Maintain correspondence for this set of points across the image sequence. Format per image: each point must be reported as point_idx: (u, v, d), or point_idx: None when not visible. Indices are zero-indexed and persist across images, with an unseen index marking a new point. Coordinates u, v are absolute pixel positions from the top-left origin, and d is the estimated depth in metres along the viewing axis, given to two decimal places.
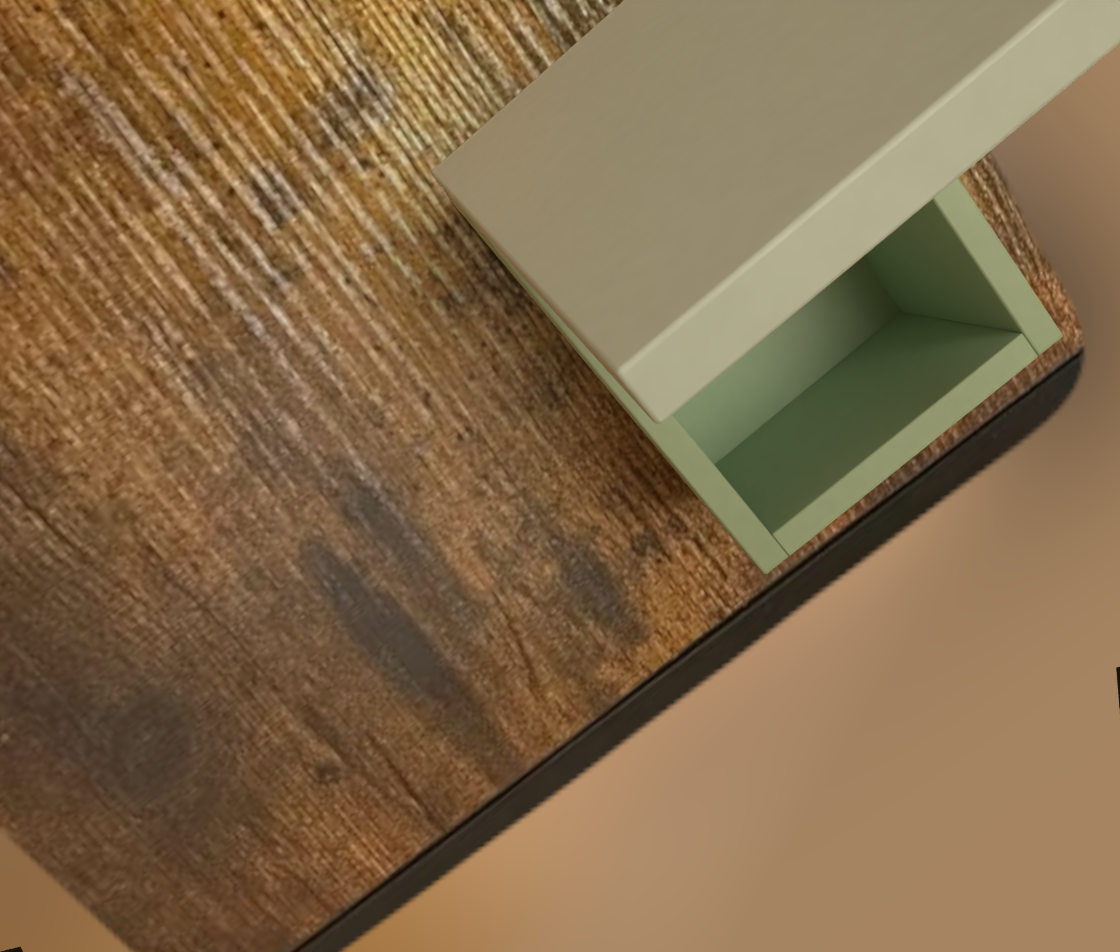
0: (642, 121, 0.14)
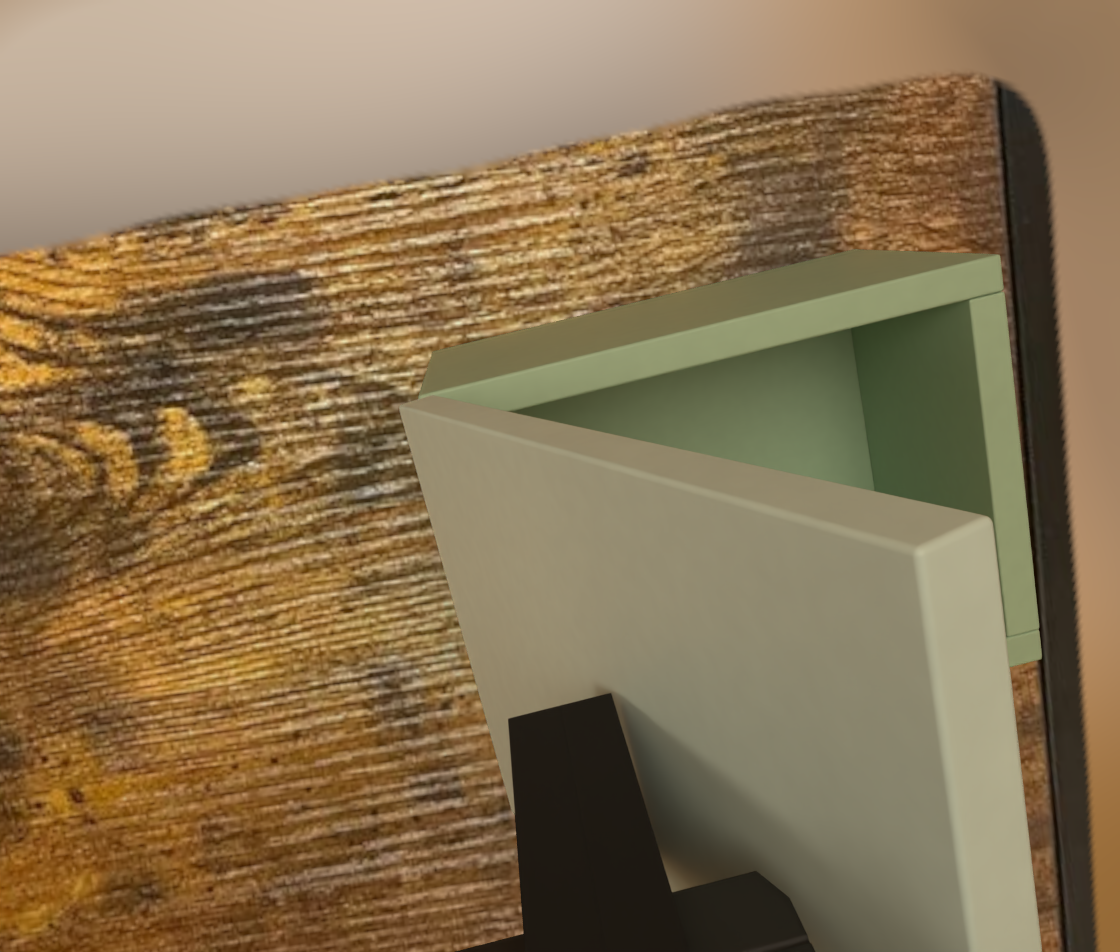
0: None
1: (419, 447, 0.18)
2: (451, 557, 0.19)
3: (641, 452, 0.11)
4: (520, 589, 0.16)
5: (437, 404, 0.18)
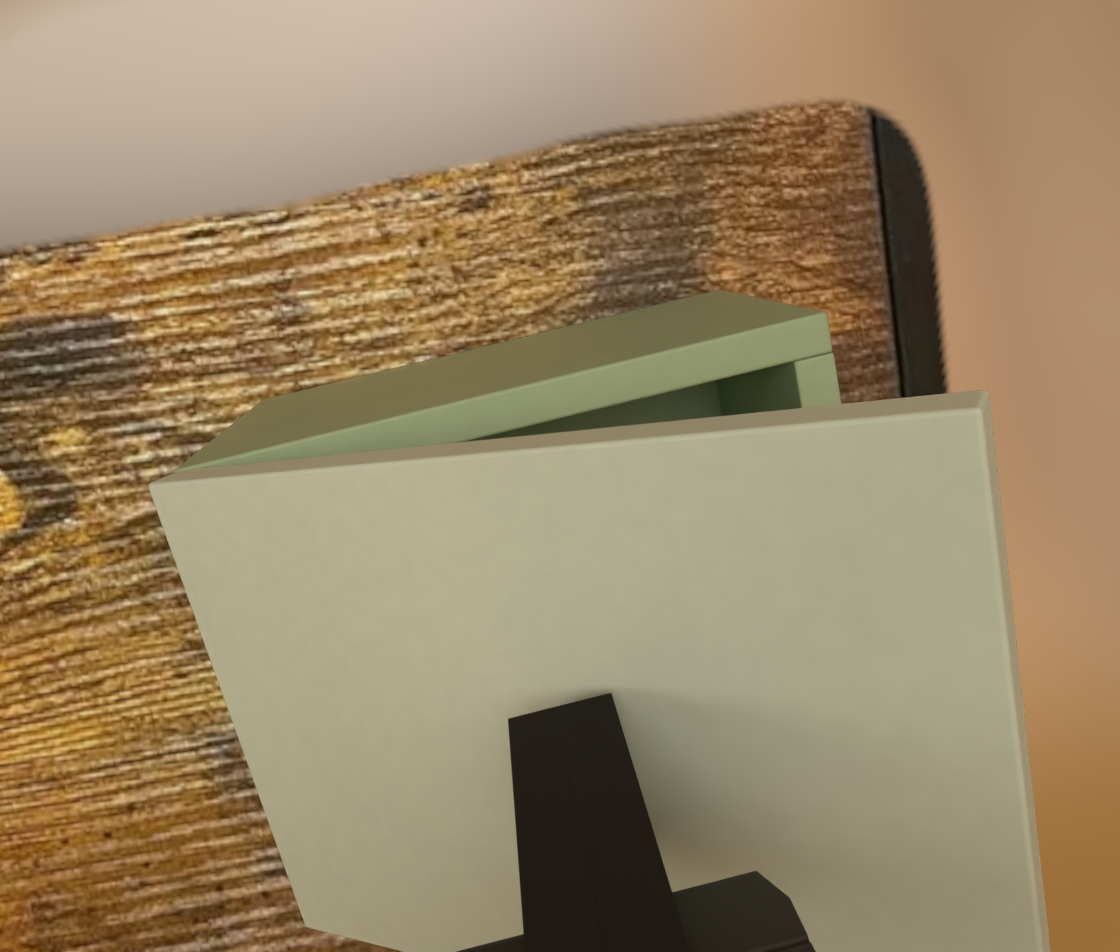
0: None
1: (189, 524, 0.17)
2: (235, 642, 0.17)
3: (599, 432, 0.13)
4: (390, 630, 0.15)
5: (215, 471, 0.16)
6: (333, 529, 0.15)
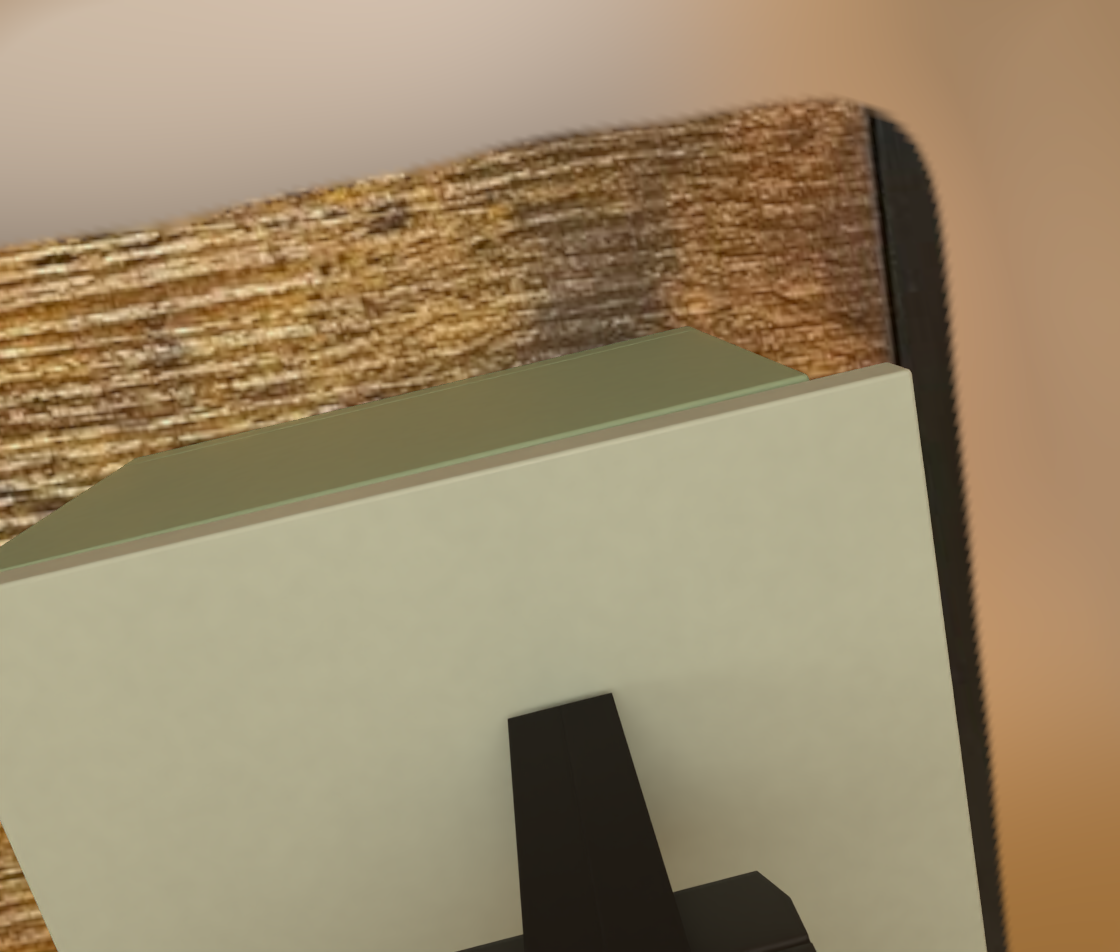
0: None
1: None
2: (56, 793, 0.13)
3: (562, 443, 0.13)
4: (310, 711, 0.13)
5: (20, 572, 0.13)
6: (234, 604, 0.13)
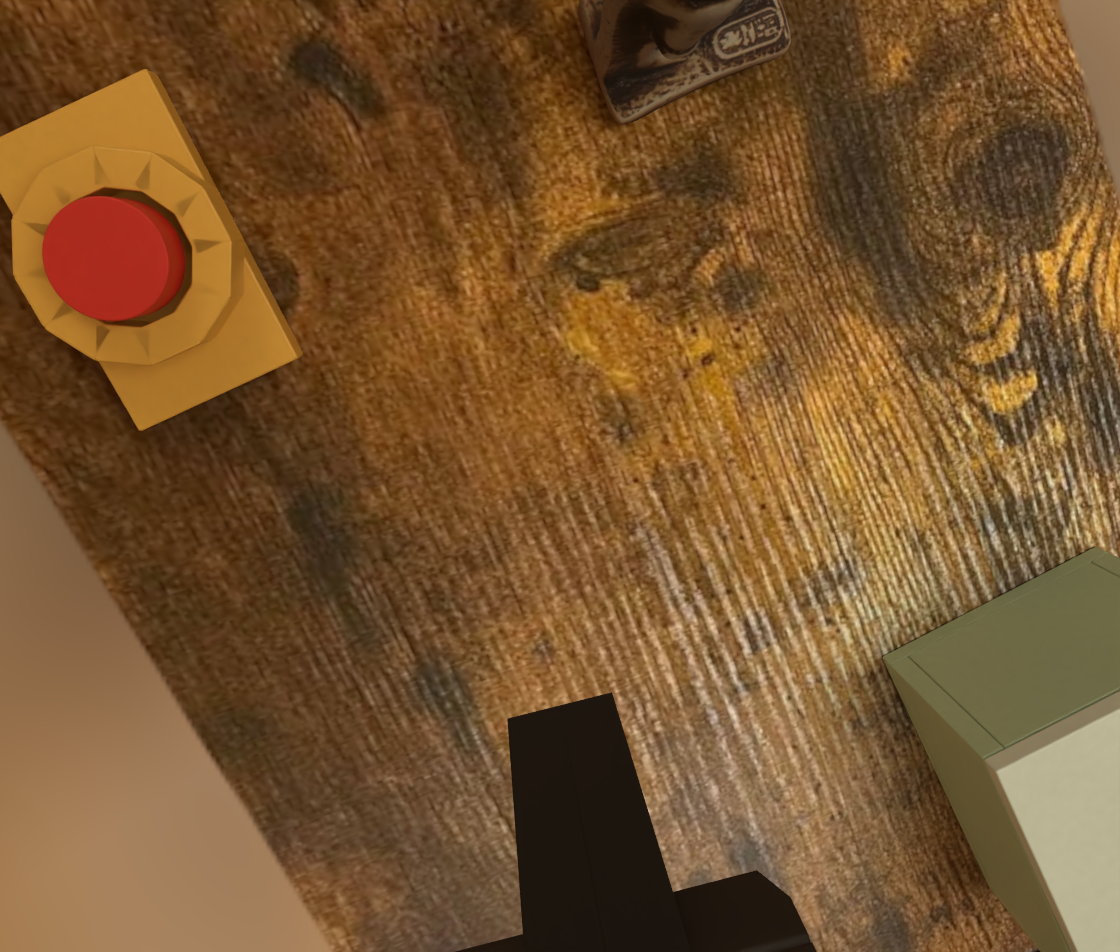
0: None
1: None
2: None
3: None
4: None
5: None
6: None
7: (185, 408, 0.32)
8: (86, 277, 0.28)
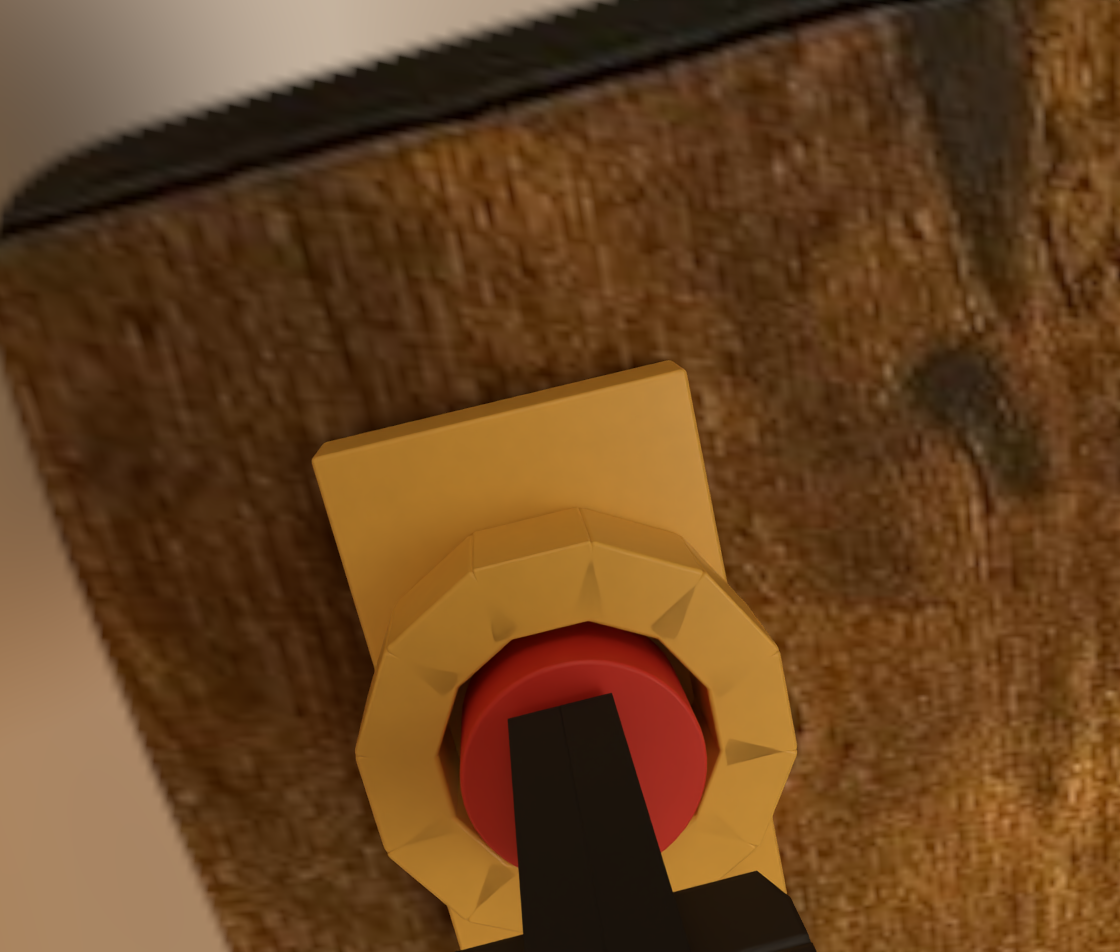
0: None
1: None
2: None
3: None
4: None
5: None
6: None
7: None
8: None
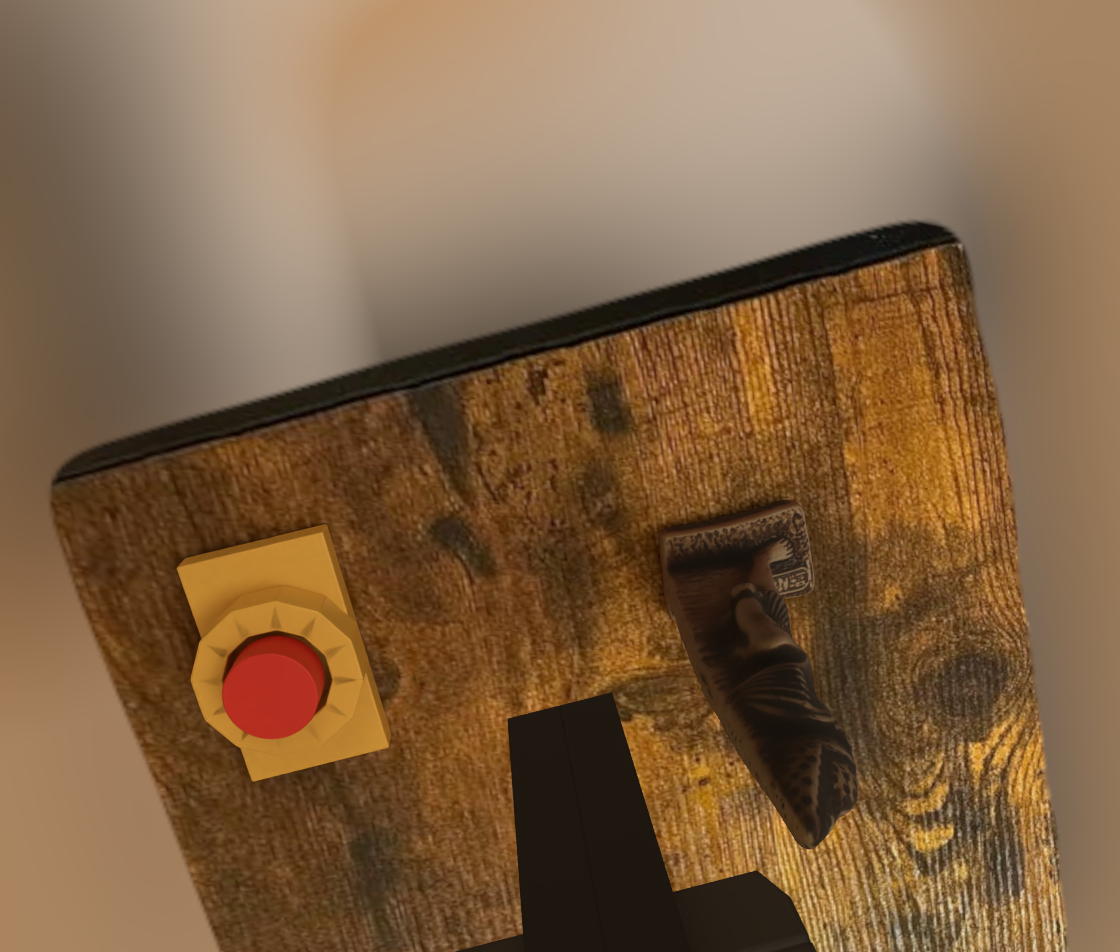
0: None
1: None
2: None
3: None
4: None
5: None
6: None
7: (292, 770, 0.41)
8: (252, 707, 0.36)
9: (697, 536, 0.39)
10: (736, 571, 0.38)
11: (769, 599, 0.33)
